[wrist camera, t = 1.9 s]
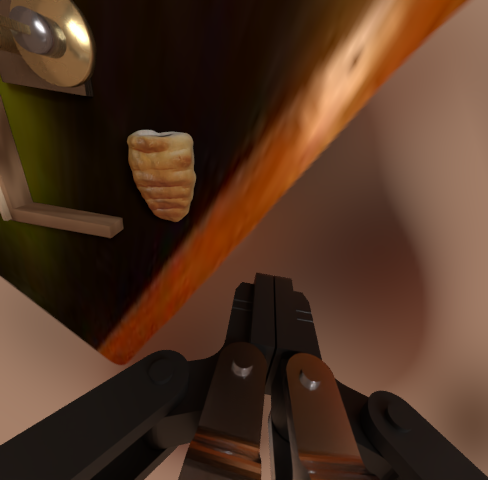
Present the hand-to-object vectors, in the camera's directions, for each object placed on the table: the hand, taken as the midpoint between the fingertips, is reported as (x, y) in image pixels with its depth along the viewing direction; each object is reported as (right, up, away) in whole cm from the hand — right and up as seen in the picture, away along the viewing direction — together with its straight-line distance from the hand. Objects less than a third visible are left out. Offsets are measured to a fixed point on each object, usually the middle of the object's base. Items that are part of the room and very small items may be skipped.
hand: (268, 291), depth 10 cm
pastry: (-9, +10, +15) cm, 20 cm away
